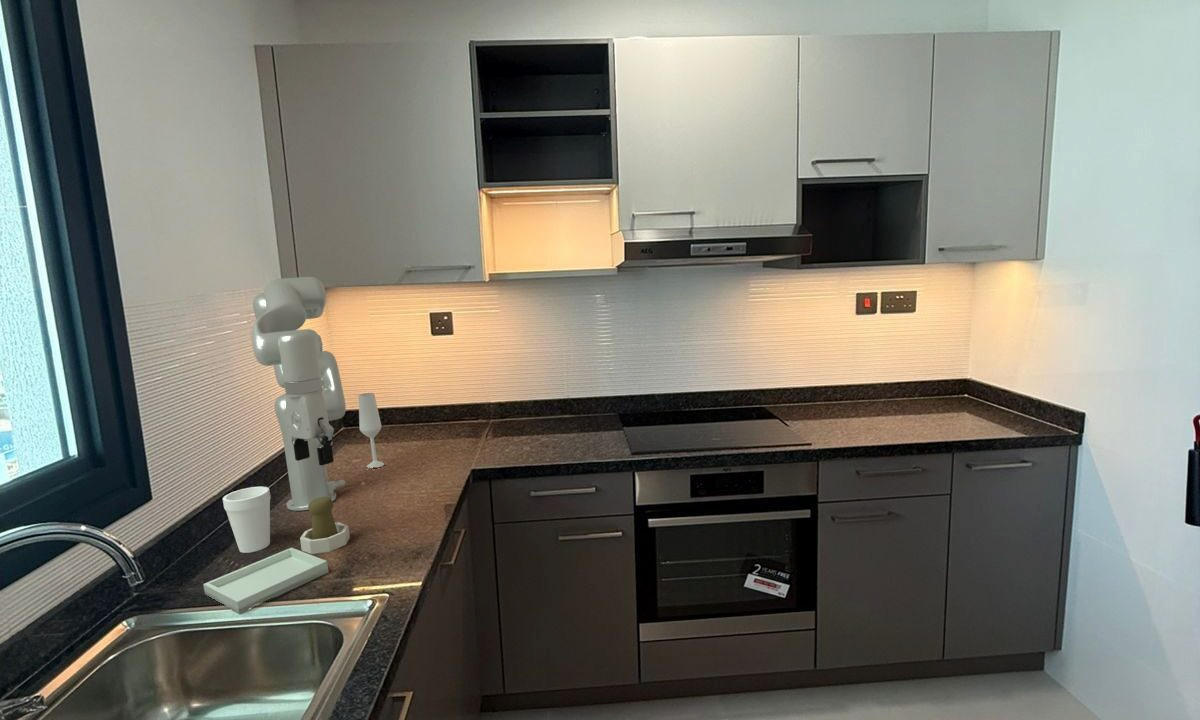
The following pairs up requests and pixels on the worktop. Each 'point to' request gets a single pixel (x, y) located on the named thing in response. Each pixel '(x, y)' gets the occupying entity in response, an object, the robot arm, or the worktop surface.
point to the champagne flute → (369, 422)
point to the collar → (325, 540)
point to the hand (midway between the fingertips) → (314, 461)
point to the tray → (265, 579)
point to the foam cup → (249, 517)
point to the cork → (322, 518)
